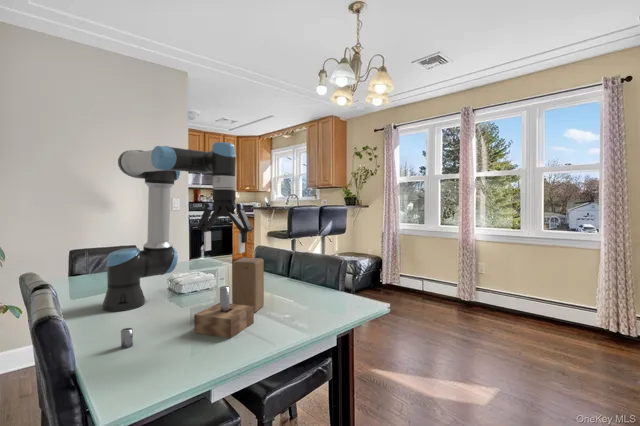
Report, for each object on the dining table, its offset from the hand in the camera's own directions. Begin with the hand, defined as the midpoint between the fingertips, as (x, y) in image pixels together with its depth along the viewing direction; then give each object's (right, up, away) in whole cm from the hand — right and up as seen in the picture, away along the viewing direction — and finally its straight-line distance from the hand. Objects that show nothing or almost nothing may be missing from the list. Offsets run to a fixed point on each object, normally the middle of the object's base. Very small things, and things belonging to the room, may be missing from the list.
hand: (224, 251), depth 112 cm
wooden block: (+4, -26, +21) cm, 33 cm away
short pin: (-25, -27, -14) cm, 39 cm away
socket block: (0, -26, +1) cm, 26 cm away
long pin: (0, -26, +1) cm, 26 cm away
